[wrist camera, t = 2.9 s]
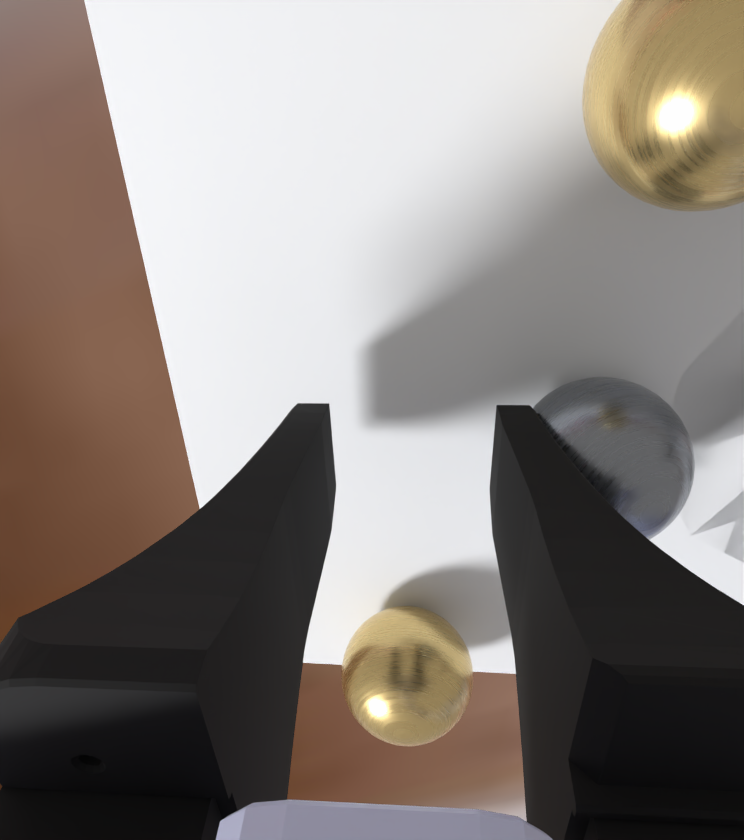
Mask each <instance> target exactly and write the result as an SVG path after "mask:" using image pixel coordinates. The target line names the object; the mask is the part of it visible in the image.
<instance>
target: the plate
mask: <svg viewBox="0 0 744 840" xmlns="http://www.w3.org/2000/svg"><path fill="white" fill-rule="evenodd" d="M84 1H85V5H86V10H87V14H88V18H89V23H90V27H91V32H92V36H93V40H94V45H95V49H96V54H97V58H98V62H99V67H100V71H101V76H102V80H103V84H104V89H105V93H106V98H107V102H108V106H109V111H110V115H111V120H112V124H113V128H114V133H115V137H116V142H117V146H118V150H119V155H120V159H121V164H122V168H123V172H124V177H125V181H126V186H127V190H128V195H129V199H130V203H131V208H132V212H133V217H134V221H135V225H136V230H137V234H138V239H139V243H140V247H141V252H142V256H143V261H144V265H145V269H146V274H147V278H148V283H149V287H150V291H151V296H152V300H153V305H154V309H155V313H156V318H157V322H158V327H159V331H160V335H161V340H162V344H163V349H164V353H165V357H166V362H167V366H168V371H169V375H170V379H171V384H172V388H173V393H174V397H175V402H176V406H177V410H178V415H179V419H180V424H181V428H182V432H183V437H184V441H185V446H186V450H187V454H188V459H189V463H190V468H191V472H192V476H193V481H194V485H195V490H196V494H197V498H198V503H199V507H200V509H201V508H202V507H203V506H204V505H205V504H206V503H207V502H208V501H209V500H211V499H212V498H213V497H214V496H215V495H216V494H217V493H218V492H219V491H220V490H221V489H222V488H223V487H224V486H225V485H226V484H227V483H228V482H229V481H230V480H231V479H232V478H233V477H234V476H235V475H236V474H237V473H238V472H239V471H240V470H241V469H242V468H243V467H244V466H245V464H246V463H247V462H248V461H249V460H250V459H251V458H252V457H253V455H254V454H255V453H256V452H257V451H258V450H259V449H260V448H261V446H262V445H263V444H264V443H265V442H266V441H267V439H268V438H269V437H270V436H271V435H272V433H273V432H274V431H275V430H276V428H277V427H278V426H279V425H280V423H281V422H282V421H283V420H284V418H285V417H286V416H287V414H288V413H289V412H290V411H291V409H292V408H293V407H294V406H295V405H296V404H297V403H329V406H330V418H331V429H332V441H333V453H334V465H335V477H336V494H335V504H334V513H333V522H332V531H331V536H330V540H329V544H328V549H327V553H326V557H325V562H324V566H323V570H322V574H321V578H320V583H319V587H318V591H317V595H316V599H315V604H314V608H313V612H312V616H311V620H310V625H309V629H308V634H307V639H306V645H305V650H304V658H303V663H319V664H338V665H342V663H343V658H344V654H345V651H346V648H347V646H348V643H349V641H350V640H351V638H352V636H353V635H354V633H355V632H356V630H357V629H358V628H359V627H360V626H361V625H362V624H363V623H364V622H365V621H366V620H368V619H369V618H370V617H372V616H373V615H375V614H377V613H379V612H381V611H383V610H385V609H388V608H392V607H398V606H414V607H420V608H424V609H427V610H430V611H432V612H434V613H436V614H438V615H439V616H441V617H442V618H444V619H445V620H447V621H448V622H449V623H450V624H451V625H452V626H453V627H454V628H455V629H456V630H457V632H458V633H459V635H460V636H461V638H462V639H463V640H464V642H465V645H466V647H467V649H468V651H469V654H470V658H471V662H472V668H473V672H493V673H512V674H516V669H515V657H514V650H513V643H512V636H511V631H510V626H509V620H508V615H507V610H506V605H505V599H504V594H503V589H502V584H501V578H500V573H499V568H498V562H497V557H496V552H495V546H494V541H493V535H492V522H491V506H490V477H491V465H492V453H493V441H494V429H495V417H496V405H530V406H531V407H532V408H533V407H534V406H535V405H536V404H537V403H538V402H539V401H540V400H541V399H542V398H543V397H545V396H546V395H547V394H549V393H550V392H552V391H553V390H555V389H556V388H558V387H560V386H562V385H565V384H567V383H570V382H573V381H577V380H581V379H585V378H592V377H612V378H617V379H623V380H628V381H630V382H633V383H636V384H639V385H641V386H643V387H645V388H647V389H649V390H650V391H652V392H654V393H656V394H657V395H658V396H660V397H661V398H662V399H663V400H664V401H665V402H667V403H668V404H669V405H670V406H671V407H672V408H673V410H674V411H675V412H676V413H677V415H678V416H679V417H680V418H681V420H682V422H683V424H684V426H685V428H686V429H687V431H688V433H689V437H690V440H691V443H692V446H693V452H694V460H695V472H694V480H693V485H692V488H691V492H690V494H689V497H688V499H687V501H686V504H685V505H684V507H683V509H682V510H681V512H680V513H679V515H678V516H677V517H676V518H675V520H674V521H673V522H672V523H671V524H670V525H669V526H668V527H667V528H666V529H664V530H663V531H662V532H661V533H659V534H658V535H656V536H655V537H653V538H652V539H650V541H651V542H652V543H654V544H655V545H656V546H657V547H659V548H660V549H661V550H662V551H664V552H665V553H667V554H668V555H669V556H671V557H672V558H673V559H675V560H676V561H677V562H679V563H680V564H681V565H683V566H684V567H686V568H687V569H688V570H690V571H691V572H692V573H694V574H695V575H697V576H698V577H700V578H701V579H703V580H704V581H706V582H707V583H709V584H710V585H712V586H713V587H715V588H716V589H718V590H720V591H721V592H723V593H725V594H726V595H728V596H729V597H731V598H733V599H734V600H736V601H738V602H739V603H741V604H742V605H744V202H742V203H739V204H736V205H733V206H730V207H726V208H721V209H716V210H710V211H695V212H687V211H674V210H669V209H664V208H660V207H657V206H654V205H652V204H649V203H646V202H643V201H641V200H639V199H637V198H635V197H634V196H632V195H630V194H629V193H627V192H626V191H625V190H623V189H622V188H621V187H620V186H618V185H617V184H616V183H615V182H614V181H613V180H612V179H611V178H610V177H609V176H608V175H607V174H606V172H605V171H604V169H603V168H602V167H601V165H600V164H599V162H598V160H597V159H596V157H595V155H594V153H593V151H592V149H591V146H590V143H589V140H588V137H587V134H586V131H585V126H584V120H583V110H582V95H583V84H584V79H585V73H586V68H587V64H588V61H589V58H590V55H591V52H592V49H593V47H594V44H595V42H596V40H597V38H598V35H599V33H600V32H601V30H602V28H603V26H604V25H605V23H606V21H607V19H608V18H609V16H610V15H611V14H612V12H613V11H614V10H615V8H616V7H617V5H618V4H619V3H620V2H621V1H622V0H84Z"/></svg>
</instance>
